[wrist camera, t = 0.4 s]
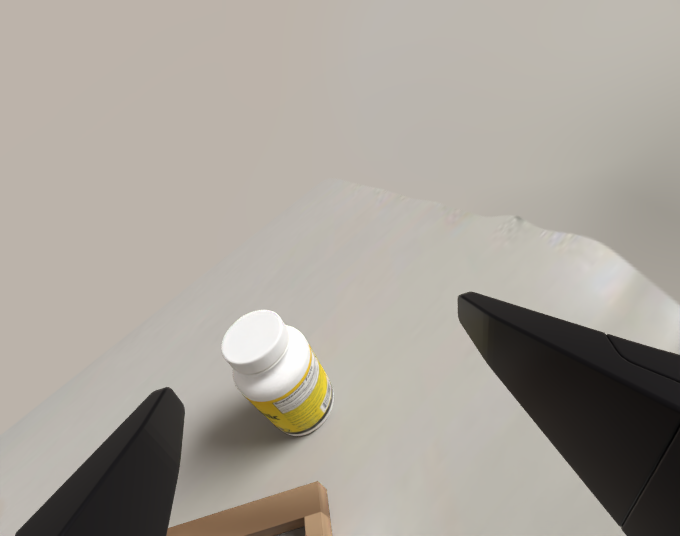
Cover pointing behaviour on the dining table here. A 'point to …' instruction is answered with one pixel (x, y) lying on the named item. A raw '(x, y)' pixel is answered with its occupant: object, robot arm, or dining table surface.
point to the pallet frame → (267, 516)
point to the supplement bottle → (278, 372)
